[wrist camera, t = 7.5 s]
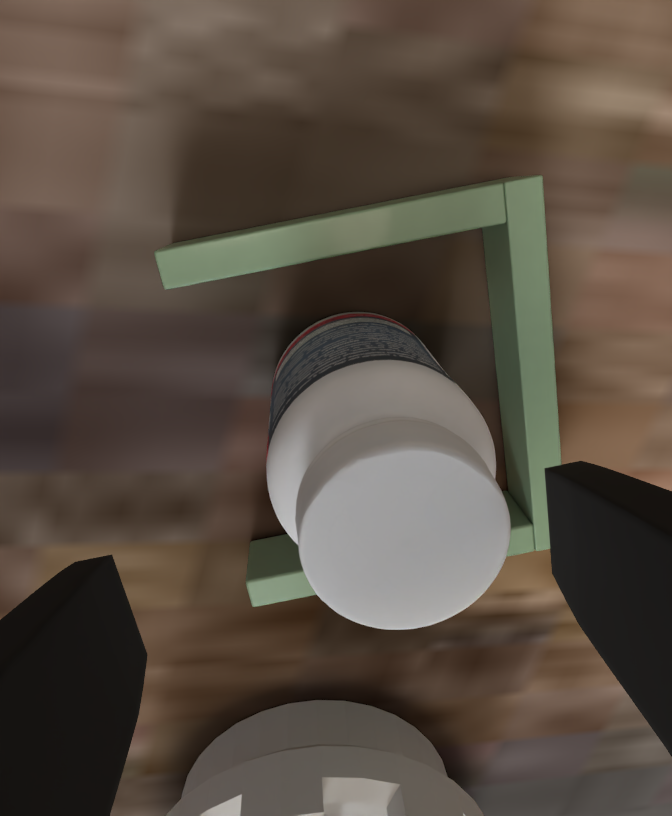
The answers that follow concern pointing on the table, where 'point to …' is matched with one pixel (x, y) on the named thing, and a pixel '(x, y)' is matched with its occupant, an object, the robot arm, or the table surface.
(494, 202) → the holder
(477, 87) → the table surface
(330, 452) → the pill bottle
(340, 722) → the flag stand
